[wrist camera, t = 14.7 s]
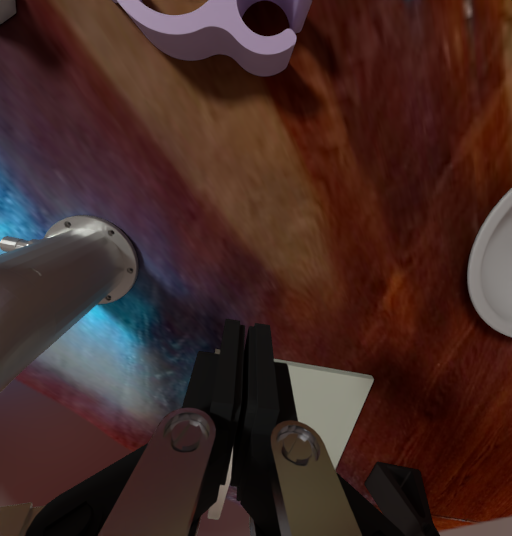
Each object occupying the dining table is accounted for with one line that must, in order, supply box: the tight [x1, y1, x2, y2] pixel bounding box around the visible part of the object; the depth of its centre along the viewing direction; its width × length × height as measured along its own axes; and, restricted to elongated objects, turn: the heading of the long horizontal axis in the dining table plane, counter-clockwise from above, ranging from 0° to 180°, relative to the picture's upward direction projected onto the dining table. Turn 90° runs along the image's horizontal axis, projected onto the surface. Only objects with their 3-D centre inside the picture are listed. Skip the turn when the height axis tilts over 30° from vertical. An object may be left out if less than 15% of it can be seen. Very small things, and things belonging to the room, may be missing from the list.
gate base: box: [215, 349, 374, 469], centre depth 45 cm, size 26×26×12 cm
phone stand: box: [365, 462, 440, 536], centre depth 50 cm, size 9×6×12 cm, turn 74°
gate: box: [208, 449, 233, 520], centre depth 45 cm, size 18×2×8 cm, turn 167°
